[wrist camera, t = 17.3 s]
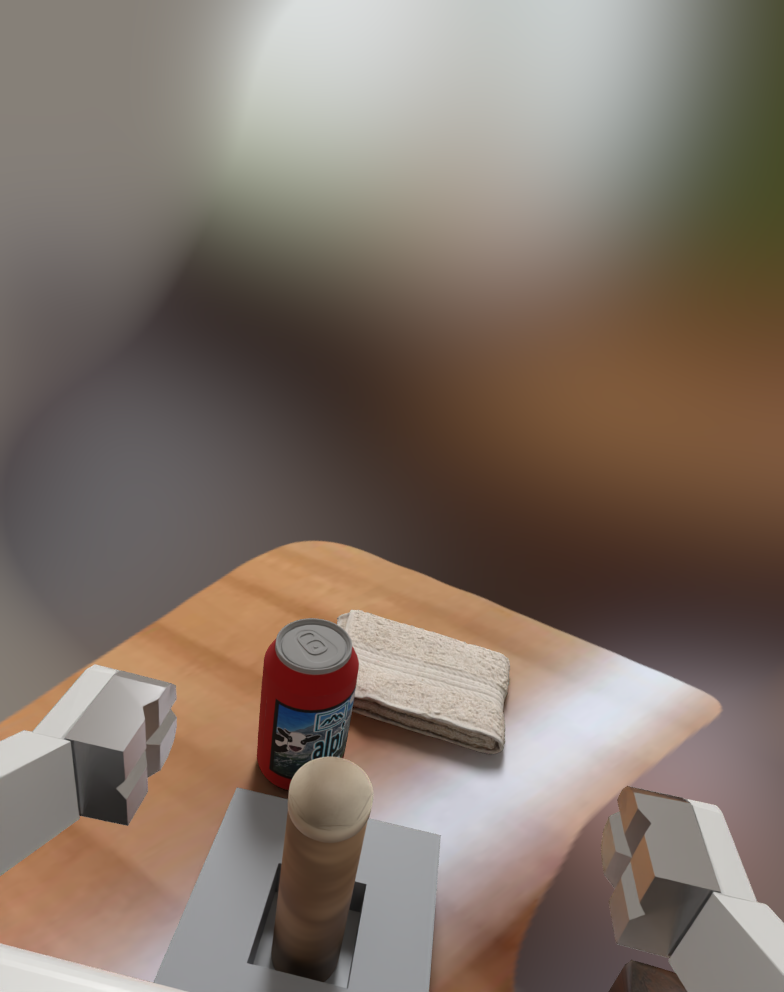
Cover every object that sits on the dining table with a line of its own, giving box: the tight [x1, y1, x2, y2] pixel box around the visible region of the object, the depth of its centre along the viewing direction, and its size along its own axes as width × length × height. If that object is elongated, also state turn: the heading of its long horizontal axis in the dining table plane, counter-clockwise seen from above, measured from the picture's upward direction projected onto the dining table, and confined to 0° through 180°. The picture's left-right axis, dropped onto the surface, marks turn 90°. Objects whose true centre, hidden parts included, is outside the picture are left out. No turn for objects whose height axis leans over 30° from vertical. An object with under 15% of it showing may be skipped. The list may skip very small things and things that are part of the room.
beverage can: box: [257, 618, 359, 790], centre depth 45 cm, size 7×7×12 cm
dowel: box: [272, 757, 373, 982], centre depth 33 cm, size 4×4×14 cm
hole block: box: [153, 788, 441, 992], centre depth 35 cm, size 14×14×4 cm
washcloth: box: [337, 610, 510, 754], centre depth 57 cm, size 12×18×3 cm, turn 77°
